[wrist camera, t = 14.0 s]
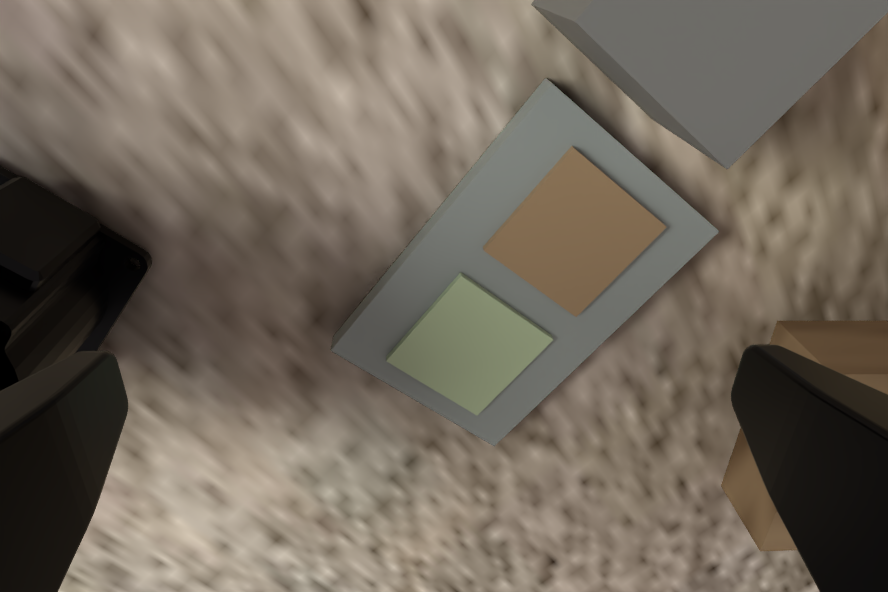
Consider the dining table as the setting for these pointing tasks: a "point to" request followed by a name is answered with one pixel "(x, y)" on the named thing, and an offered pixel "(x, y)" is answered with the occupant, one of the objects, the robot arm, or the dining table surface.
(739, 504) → the walnut base block
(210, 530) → the dining table surface
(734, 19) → the charcoal cube
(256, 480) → the dining table surface
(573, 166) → the board
